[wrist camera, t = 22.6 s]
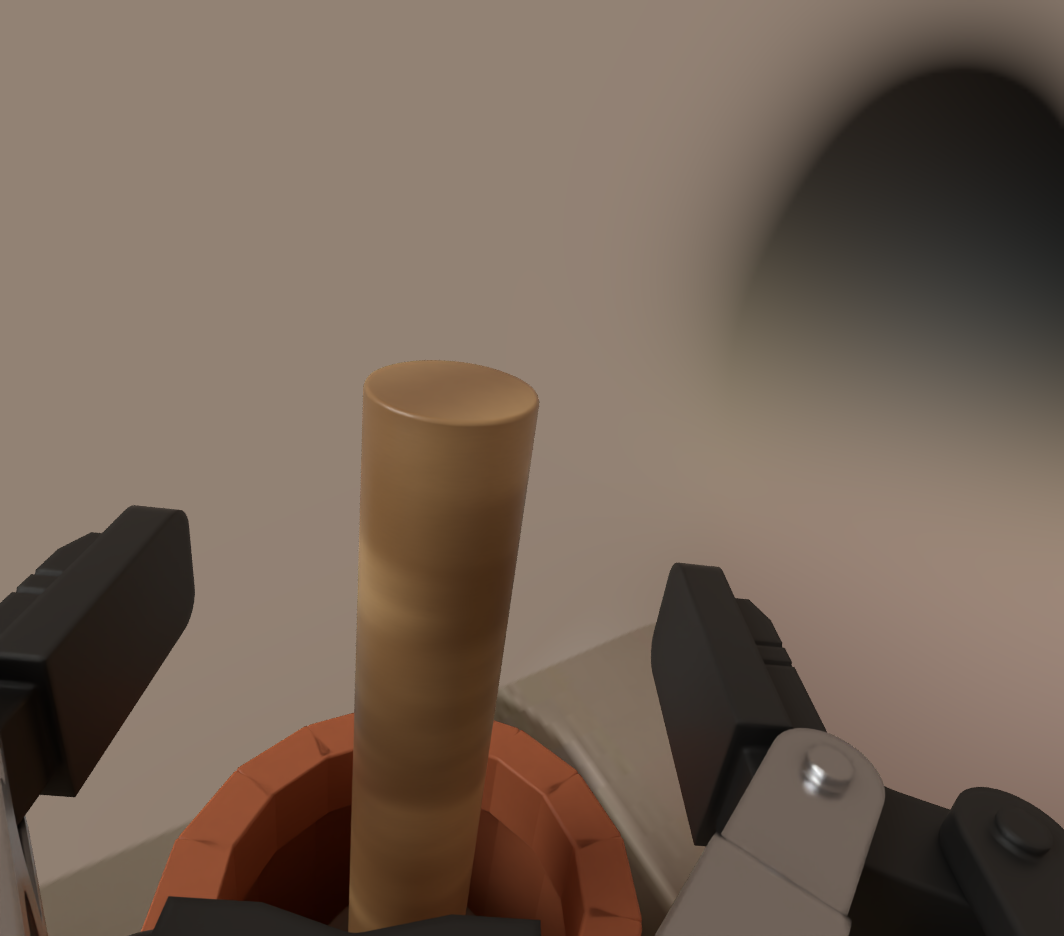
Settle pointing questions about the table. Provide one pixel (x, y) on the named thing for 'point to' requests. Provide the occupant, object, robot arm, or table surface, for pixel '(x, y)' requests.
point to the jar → (325, 838)
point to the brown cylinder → (430, 627)
